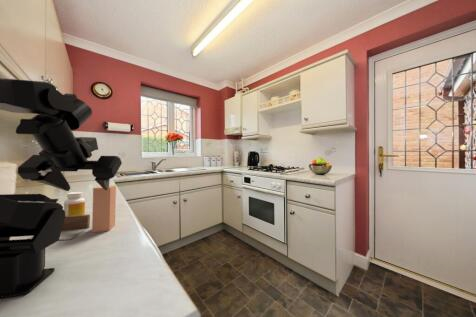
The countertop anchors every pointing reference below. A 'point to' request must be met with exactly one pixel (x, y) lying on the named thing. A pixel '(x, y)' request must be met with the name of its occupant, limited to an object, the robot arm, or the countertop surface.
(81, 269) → the countertop surface
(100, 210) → the terracotta block
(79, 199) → the supplement bottle
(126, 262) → the countertop surface
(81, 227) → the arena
